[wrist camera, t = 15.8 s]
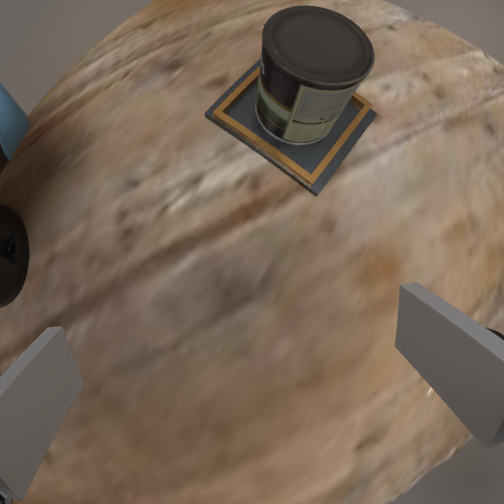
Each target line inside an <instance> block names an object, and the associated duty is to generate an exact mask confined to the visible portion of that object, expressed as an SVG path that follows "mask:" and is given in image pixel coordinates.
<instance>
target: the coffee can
mask: <svg viewBox="0 0 504 504" xmlns="http://www.w3.org/2000/svg"><path fill="white" fill-rule="evenodd" d="M262 43H263V45H262V54H261V63H260V73H259V82H258V91H257V99H256V103H255V111H256V116H257V119H258V121H259V123H260V125H261V126H262V127H263V129H264V130H265V131H266V132H267V133H268V134H269V135H271V136H272V137H274V138H275V139H277V140H279V141H281V142H284V143H287V144H292V145H308V144H313V143H316V142H318V141H319V140H321V139H323V138H324V137H325V136H326V135H327V134H328V133H329V132H330V130H331V129H332V127H333V125H334V123H335V121H336V120H337V118H338V117H339V115H340V114H341V112H342V111H343V109H344V108H345V106H346V105H347V103H348V101H349V100H350V98H351V97H352V95H353V94H354V92H355V91H356V89H357V88H358V86H359V85H360V83H361V82H362V80H363V79H364V78H365V77H366V76H367V75H368V74H369V72H370V71H371V69H372V67H373V64H374V50H373V46H372V44H371V42H370V40H369V38H368V37H367V35H366V34H365V33H364V32H363V30H362V29H361V28H360V27H359V26H357V25H356V24H355V23H354V22H353V21H351V20H350V19H348V18H347V17H345V16H343V15H341V14H339V13H337V12H334V11H332V10H329V9H325V8H321V7H316V6H295V7H290V8H286V9H283V10H281V11H279V12H277V13H275V14H274V15H273V16H271V18H269V20H268V21H267V22H266V24H265V26H264V28H263V33H262Z"/></svg>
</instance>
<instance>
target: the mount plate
mask: <svg viewBox="0 0 504 504" xmlns="http://www.w3.org/2000/svg"><path fill="white" fill-rule="evenodd" d="M260 63H261V59H260V60H259V61H258V62H256V63H255V64H254V65H253V66H252V67H251V68H250V69H249V70H248V71H247V72H246V73H245V74H244V75H243V76H242V77H240V78H239V79H238V80H237V81H236V82H235V83H234V84H233V85H232V86H231V87H230V88H229V89H228V90H227V91H226V92H225V93H224V94H223V95H222V96H221V97H220V98H219V99H218V100H217V101H216V102H215V103H214V104H213V105H212V106H211V107H210V108H209V109H208V110H207V112H206V113H205V117H206V118H208V119H209V120H211V121H212V122H214V123H215V124H217V125H218V126H220V127H221V128H223V129H224V130H226V131H227V132H228V133H230V134H231V135H233V136H234V137H236V138H237V139H239V140H240V141H242V142H243V143H244V144H246V145H247V146H249V147H250V148H251V149H253V150H254V151H256V152H257V153H258V154H260V155H261V156H263V157H264V158H265V159H267V160H268V161H270V162H271V163H272V164H274V165H275V166H276V167H278V168H279V169H280V170H282V171H283V172H284V173H286V174H287V175H288V176H290V177H291V178H292V179H294V180H295V181H296V182H298V183H299V184H300V185H302V186H303V187H304V188H306V189H307V190H308V191H309V192H311V193H312V194H313V195H315V196H317V195H318V193H319V192H320V191H321V189H322V188H323V187H324V185H325V184H326V183H327V181H328V180H329V179H330V177H331V176H332V175H333V173H334V172H335V171H336V169H337V168H338V167H339V165H340V164H341V162H342V161H343V160H344V158H345V157H346V156H347V154H348V153H349V152H350V150H351V149H352V148H353V146H354V145H355V143H356V142H357V141H358V139H359V138H360V137H361V135H362V134H363V133H364V131H365V130H366V128H367V127H368V126H369V124H370V123H371V122H372V120H373V119H374V117H375V116H376V115H377V113H376V112H374V111H373V110H372V109H370V108H371V107H372V104H371V103H369V102H368V101H367V100H365V99H364V98H363V97H361V96H360V95H359V94H357V93H356V92H354V94H353V95H352V97H351V98H350V100H349V101H348V103H347V105H346V106H345V108H344V109H343V111H342V112H341V114H340V115H339V117H338V118H337V120H336V121H335V123H334V125H333V127H332V129H331V130H330V132H329V133H328V134H327V135H326V136H325V137H324V138H323V139H321V140H319V141H318V142H316V143H313V144H308V145H292V144H287V143H284V142H281V141H279V140H277V139H275V138H274V137H272V136H271V135H269V134H268V133H267V132H266V131H265V130H264V129H263V127H262V126H261V125H260V123H259V121H258V119H257V116H256V111H255V103H256V99H257V91H258V82H259V73H260Z"/></svg>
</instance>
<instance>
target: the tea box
mask: <svg viewBox="0 0 504 504" xmlns="http://www.w3.org/2000/svg"><path fill="white" fill-rule="evenodd" d="M11 501H12V498H11V497H9V496H6V495H5V494H4V493H3V492H2V491H1V490H0V504H11Z"/></svg>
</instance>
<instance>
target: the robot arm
mask: <svg viewBox="0 0 504 504" xmlns="http://www.w3.org/2000/svg"><path fill="white" fill-rule="evenodd" d="M28 128H29V121H28V117H27V115H26V114H25V112H24V111H23V110H22V109H21V108H20V106H19V105H18V104H17V103H16V102H15V101H14V99H13V98H12V97H11V96H10V94H9V93H8V92H7V91H6V89H5V88H4V87H3V86H2V84H1V83H0V174H1V172H2V171H3V169H4V168H5V166H6V165H7V163H8V162H10V161H11V160H12V155H13V154H14V152H15V150H16V149H17V147H18V146H19V144H20V143H21V141H22V140H23V139H24V137H25V136H26V134H27V131H28ZM27 267H28V240H27V235H26V231H25V228H24V225H23V223H22V221H21V219H20V217H19V216H18V215H17V213H16V212H15V211H14V210H13V209H11V208H10V207H7V206H5V205H1V204H0V307H3V306H6V305H7V304H9V303H10V302H12V301H13V300H14V299H15V297H16V296H17V295H18V293H19V291H20V290H21V288H22V285H23V283H24V280H25V277H26V272H27ZM395 347H396V348H397V349H398V350H399V351H400V353H401V354H402V355H403V356H404V357H405V358H406V359H407V360H408V361H409V362H410V364H411V365H412V366H413V367H414V368H415V369H416V370H417V371H418V372H419V374H420V375H421V376H422V377H423V378H424V379H425V380H426V381H427V383H428V384H429V385H430V386H431V387H432V388H433V389H434V390H435V392H436V393H437V394H438V395H439V396H440V397H441V398H442V400H443V401H444V402H445V403H446V404H447V405H448V406H449V408H450V409H451V410H452V411H453V412H454V413H455V415H456V416H457V417H458V418H459V419H460V420H461V422H462V423H463V424H464V425H465V426H466V427H467V429H468V430H469V431H470V432H471V433H472V435H473V436H474V437H475V438H476V439H477V440H478V442H479V443H480V444H481V445H482V446H483V448H484V449H485V450H486V451H488V450H490V449H491V448H493V447H495V446H496V445H498V444H500V443H501V442H503V441H504V335H502V334H501V333H499V332H497V331H494V330H492V329H489V328H486V327H484V326H482V325H481V324H479V323H478V322H476V321H475V320H474V319H472V318H471V317H469V316H468V315H466V314H465V313H463V312H462V311H460V310H459V309H457V308H456V307H454V306H452V305H451V304H449V303H448V302H446V301H445V300H443V299H442V298H440V297H439V296H437V295H436V294H434V293H432V292H431V291H429V290H428V289H426V288H425V287H423V286H421V285H420V284H418V283H417V282H414V283H409V284H404V285H400V292H399V308H398V321H397V332H396V341H395ZM83 385H84V381H83V379H82V377H81V374H80V372H79V369H78V367H77V364H76V362H75V359H74V357H73V354H72V351H71V349H70V346H69V343H68V340H67V338H66V335H65V332H64V329H63V327H48V328H47V329H46V330H45V331H44V332H43V333H42V334H41V335H40V336H39V337H38V338H37V339H36V340H35V341H34V342H33V343H32V344H31V345H30V346H29V347H28V348H27V349H26V350H25V351H24V352H23V353H22V354H21V355H20V356H19V357H18V358H17V359H16V360H15V361H14V362H13V364H12V365H11V366H10V367H9V368H8V369H7V370H6V371H5V372H4V373H3V374H2V375H1V376H0V490H1V491H2V492H3V493H4V494H5V495H6V496H9V497H11V498H14V499H17V500H19V501H22V502H23V500H24V497H25V495H26V493H27V491H28V489H29V487H30V485H31V483H32V480H33V478H34V476H35V474H36V472H37V470H38V468H39V466H40V464H41V462H42V460H43V458H44V456H45V454H46V452H47V450H48V449H49V447H50V445H51V443H52V441H53V439H54V437H55V435H56V433H57V432H58V430H59V428H60V426H61V424H62V422H63V421H64V419H65V417H66V415H67V413H68V412H69V410H70V408H71V406H72V404H73V403H74V401H75V399H76V397H77V396H78V394H79V392H80V390H81V389H82V387H83Z"/></svg>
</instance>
